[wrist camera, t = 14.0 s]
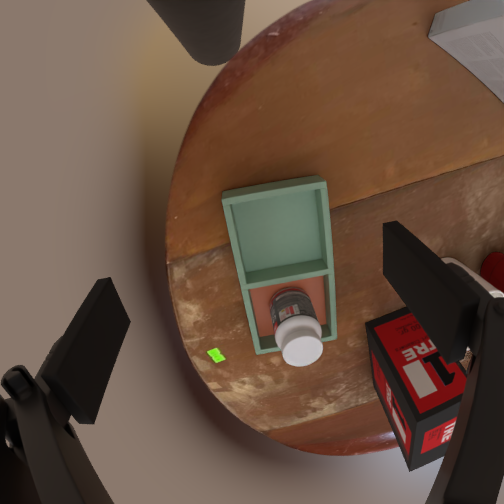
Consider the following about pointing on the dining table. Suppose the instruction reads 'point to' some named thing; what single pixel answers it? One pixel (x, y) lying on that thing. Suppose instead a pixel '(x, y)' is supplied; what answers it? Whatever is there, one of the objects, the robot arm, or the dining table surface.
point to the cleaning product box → (414, 386)
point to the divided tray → (282, 250)
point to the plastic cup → (494, 270)
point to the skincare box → (474, 39)
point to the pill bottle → (296, 326)
